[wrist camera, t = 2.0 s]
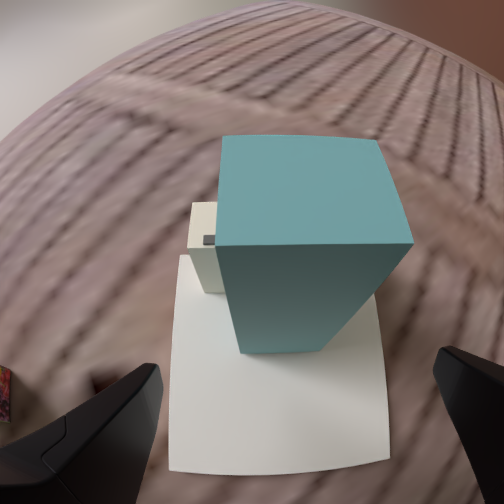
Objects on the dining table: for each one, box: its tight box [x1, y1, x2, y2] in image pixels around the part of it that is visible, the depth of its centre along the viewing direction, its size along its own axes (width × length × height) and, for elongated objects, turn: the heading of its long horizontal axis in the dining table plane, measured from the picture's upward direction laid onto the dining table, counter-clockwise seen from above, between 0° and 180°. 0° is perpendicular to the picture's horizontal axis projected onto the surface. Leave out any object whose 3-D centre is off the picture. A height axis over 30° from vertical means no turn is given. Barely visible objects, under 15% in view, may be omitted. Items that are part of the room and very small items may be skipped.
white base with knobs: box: [169, 202, 390, 475], centre depth 16 cm, size 15×14×7 cm
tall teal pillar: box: [215, 135, 414, 354], centre depth 14 cm, size 4×5×13 cm
